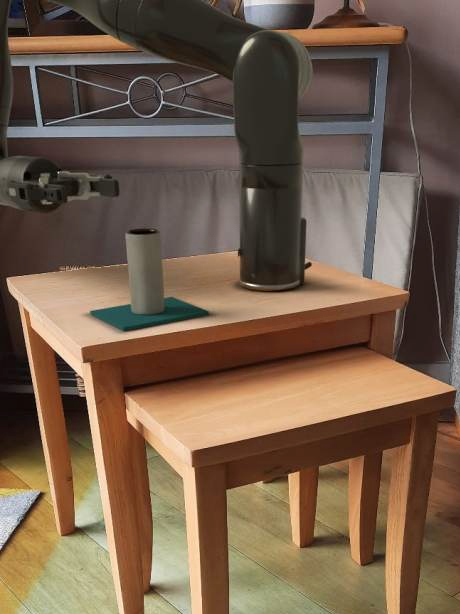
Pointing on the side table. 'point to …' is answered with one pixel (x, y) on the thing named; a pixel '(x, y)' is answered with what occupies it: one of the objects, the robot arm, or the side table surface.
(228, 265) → the side table surface
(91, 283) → the side table surface
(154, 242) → the planter
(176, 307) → the towel
